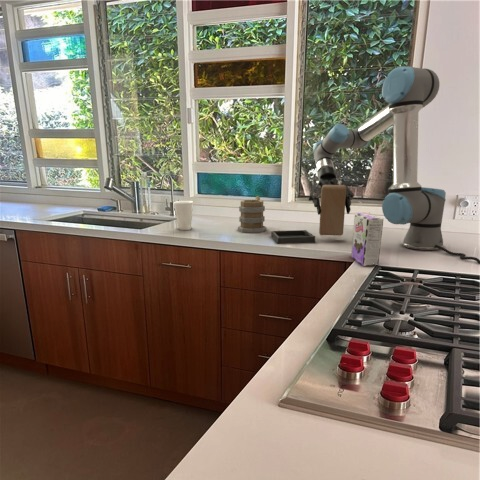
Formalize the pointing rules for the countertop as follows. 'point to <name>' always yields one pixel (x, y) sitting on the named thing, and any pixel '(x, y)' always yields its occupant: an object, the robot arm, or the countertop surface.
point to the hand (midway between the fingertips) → (334, 212)
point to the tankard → (252, 216)
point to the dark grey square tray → (292, 236)
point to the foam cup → (184, 214)
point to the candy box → (367, 238)
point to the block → (332, 209)
